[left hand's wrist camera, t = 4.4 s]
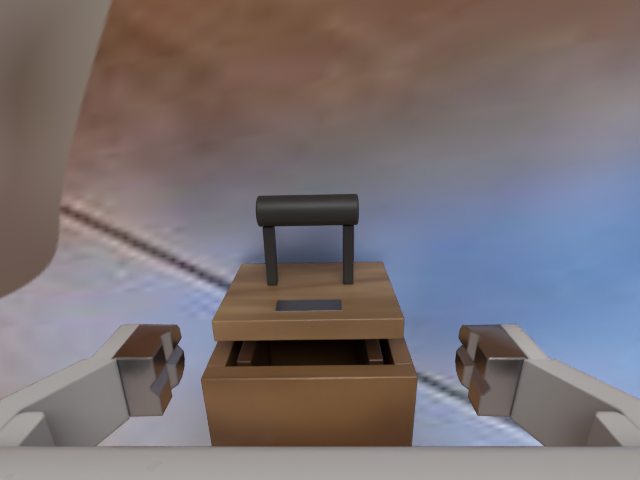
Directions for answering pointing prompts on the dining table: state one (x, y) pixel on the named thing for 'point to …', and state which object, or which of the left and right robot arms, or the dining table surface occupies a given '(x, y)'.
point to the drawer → (309, 295)
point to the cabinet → (310, 401)
